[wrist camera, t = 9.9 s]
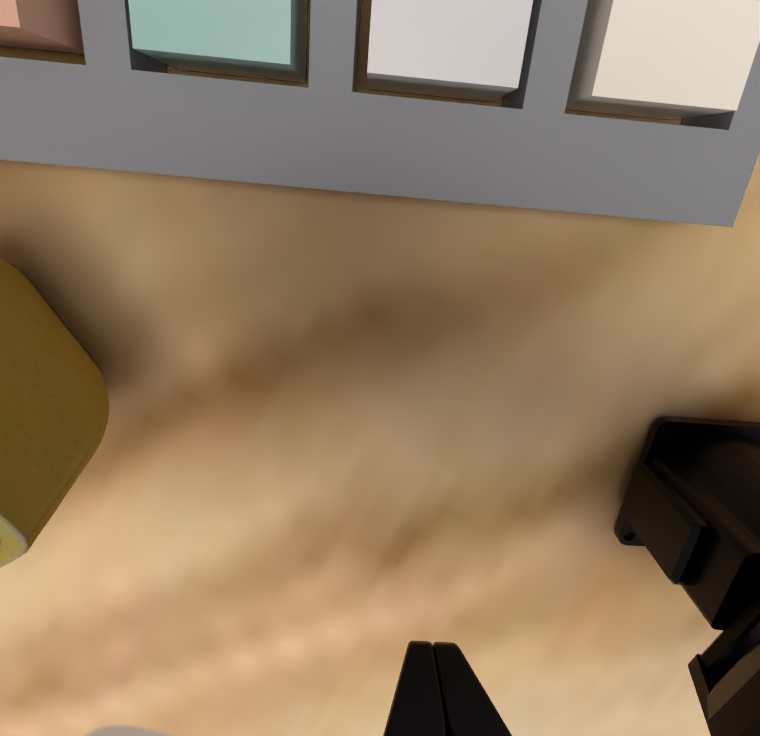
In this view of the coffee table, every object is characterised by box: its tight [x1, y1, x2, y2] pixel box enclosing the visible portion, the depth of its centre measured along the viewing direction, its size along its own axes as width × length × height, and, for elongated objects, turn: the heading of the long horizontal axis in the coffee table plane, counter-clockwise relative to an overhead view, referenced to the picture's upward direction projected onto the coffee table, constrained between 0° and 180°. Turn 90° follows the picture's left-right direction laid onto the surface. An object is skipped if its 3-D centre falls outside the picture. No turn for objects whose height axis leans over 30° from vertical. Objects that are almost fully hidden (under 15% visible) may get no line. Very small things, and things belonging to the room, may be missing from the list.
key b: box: [367, 0, 533, 102], centre depth 13 cm, size 4×4×3 cm
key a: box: [565, 0, 760, 120], centre depth 14 cm, size 4×4×3 cm
